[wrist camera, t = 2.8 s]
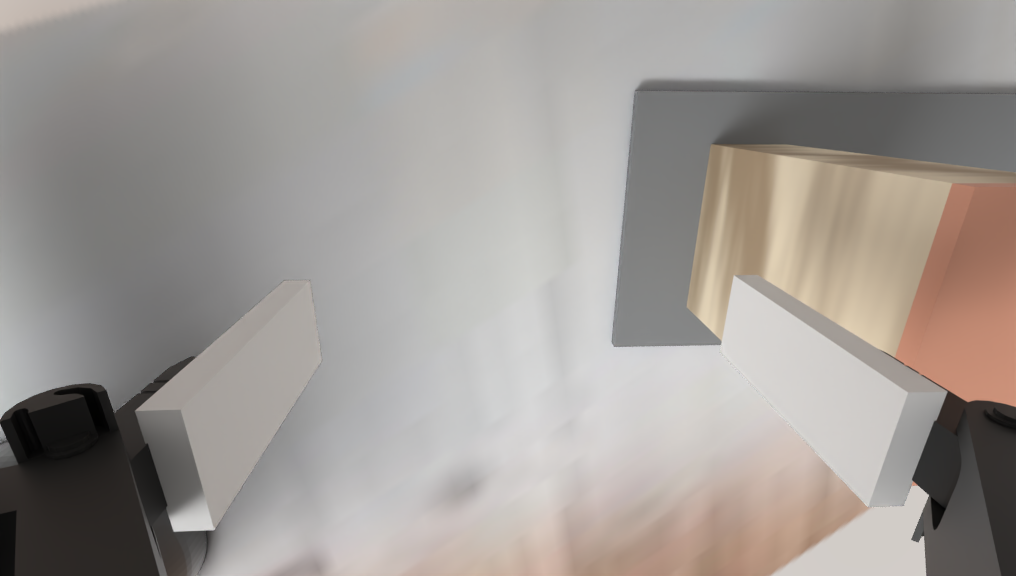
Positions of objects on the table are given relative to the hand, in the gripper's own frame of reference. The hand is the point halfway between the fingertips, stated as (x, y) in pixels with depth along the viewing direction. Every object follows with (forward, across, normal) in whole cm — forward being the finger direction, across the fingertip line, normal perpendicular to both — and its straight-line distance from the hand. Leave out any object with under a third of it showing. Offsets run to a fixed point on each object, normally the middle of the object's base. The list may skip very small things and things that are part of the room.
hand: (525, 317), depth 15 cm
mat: (+12, -19, 0) cm, 23 cm away
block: (+11, -12, 0) cm, 17 cm away
